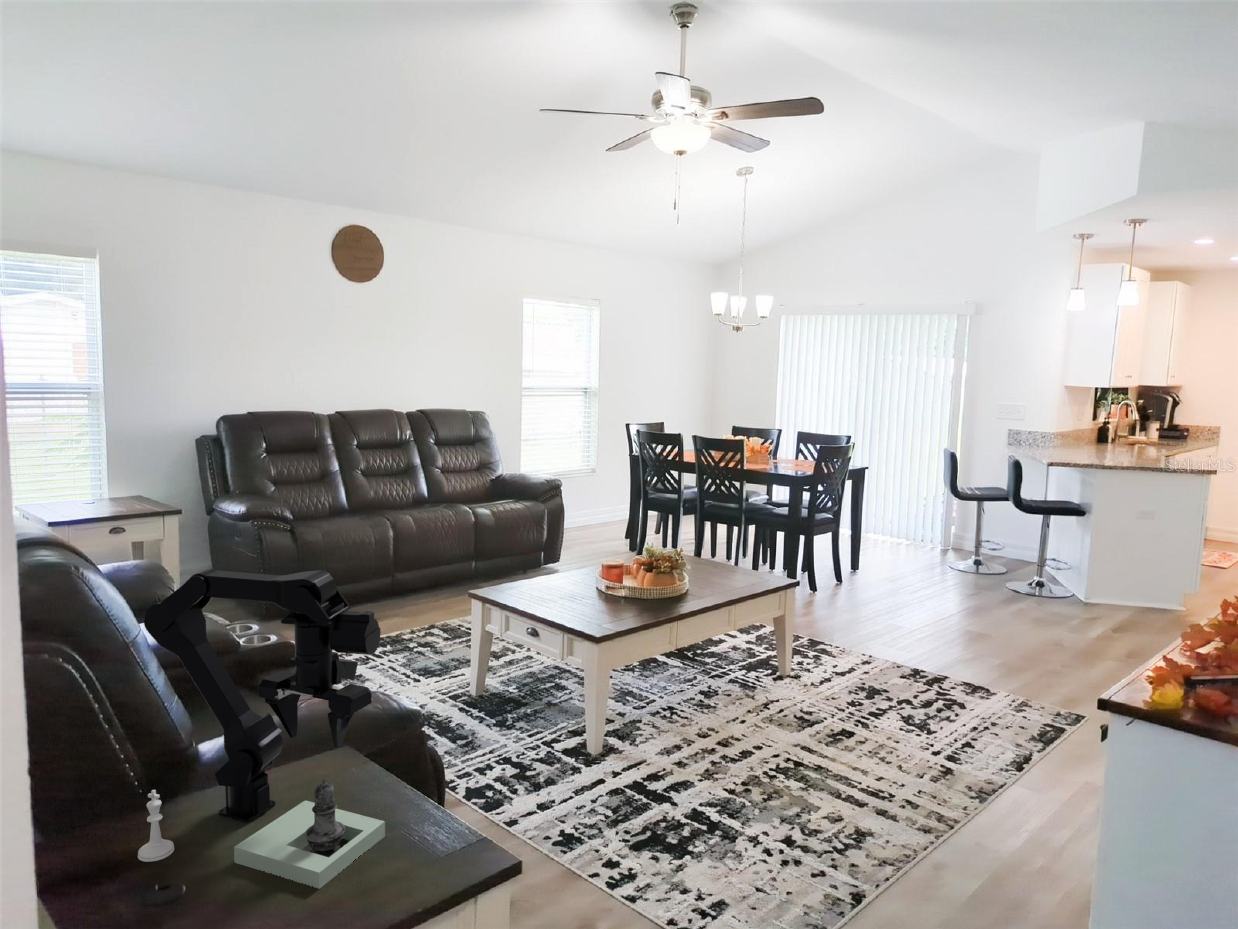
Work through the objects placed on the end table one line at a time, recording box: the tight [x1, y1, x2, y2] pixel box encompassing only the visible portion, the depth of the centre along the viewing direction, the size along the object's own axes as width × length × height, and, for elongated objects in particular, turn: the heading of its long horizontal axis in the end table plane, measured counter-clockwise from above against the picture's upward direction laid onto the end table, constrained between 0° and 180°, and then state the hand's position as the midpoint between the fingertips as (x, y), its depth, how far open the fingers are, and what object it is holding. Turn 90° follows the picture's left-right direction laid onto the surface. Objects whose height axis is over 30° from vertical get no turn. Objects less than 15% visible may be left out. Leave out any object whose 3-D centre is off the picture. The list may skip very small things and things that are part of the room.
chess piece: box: [137, 789, 175, 863], centre depth 129 cm, size 5×5×10 cm
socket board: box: [233, 800, 386, 890], centre depth 131 cm, size 16×15×2 cm
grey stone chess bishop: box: [305, 778, 345, 858], centre depth 130 cm, size 6×6×12 cm
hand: (315, 742), depth 139 cm, fingers open, 9 cm apart
